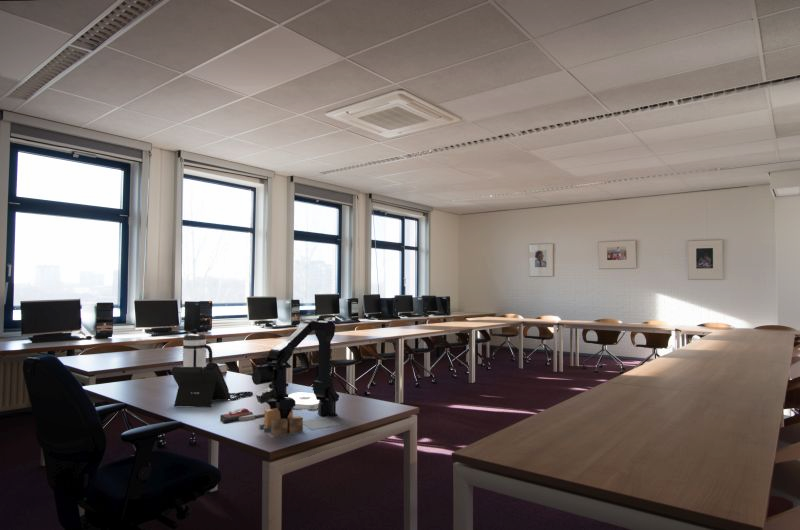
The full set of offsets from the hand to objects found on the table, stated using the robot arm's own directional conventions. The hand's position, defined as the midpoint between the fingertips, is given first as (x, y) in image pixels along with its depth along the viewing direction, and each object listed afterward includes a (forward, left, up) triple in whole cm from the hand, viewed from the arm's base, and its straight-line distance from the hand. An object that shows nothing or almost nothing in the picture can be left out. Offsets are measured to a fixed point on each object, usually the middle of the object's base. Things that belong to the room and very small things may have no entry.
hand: (278, 421), depth 188 cm
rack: (0, +3, -2) cm, 4 cm away
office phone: (+8, -64, -3) cm, 65 cm away
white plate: (-25, -33, -3) cm, 42 cm away
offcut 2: (-3, +9, -2) cm, 9 cm away
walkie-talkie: (+6, -21, -3) cm, 22 cm away
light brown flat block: (0, 0, -2) cm, 2 cm away
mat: (-15, +4, -2) cm, 16 cm away
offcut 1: (+3, +9, -2) cm, 9 cm away
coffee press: (+4, -120, -3) cm, 120 cm away
